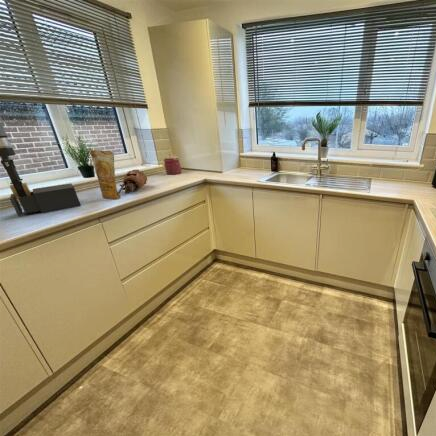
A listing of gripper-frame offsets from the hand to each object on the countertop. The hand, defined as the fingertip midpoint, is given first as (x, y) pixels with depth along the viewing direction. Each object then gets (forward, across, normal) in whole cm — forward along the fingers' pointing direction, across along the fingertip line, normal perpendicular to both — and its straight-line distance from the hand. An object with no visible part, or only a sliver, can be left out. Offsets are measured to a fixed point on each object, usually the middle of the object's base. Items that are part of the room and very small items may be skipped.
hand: (22, 194), depth 121 cm
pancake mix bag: (+10, 0, -36) cm, 37 cm away
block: (0, 0, 0) cm, 0 cm away
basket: (+9, 0, 0) cm, 9 cm away
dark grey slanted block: (+10, 0, -12) cm, 15 cm away
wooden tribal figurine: (+10, +9, -49) cm, 51 cm away
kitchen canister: (+10, +46, -91) cm, 103 cm away
